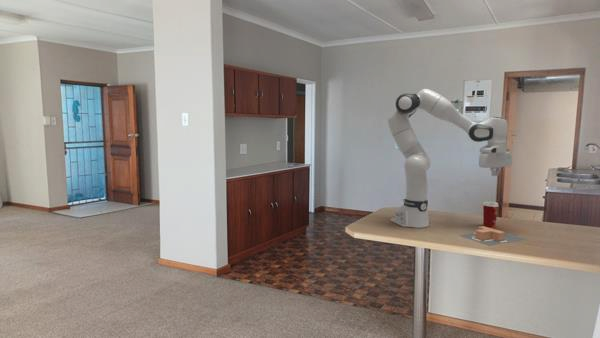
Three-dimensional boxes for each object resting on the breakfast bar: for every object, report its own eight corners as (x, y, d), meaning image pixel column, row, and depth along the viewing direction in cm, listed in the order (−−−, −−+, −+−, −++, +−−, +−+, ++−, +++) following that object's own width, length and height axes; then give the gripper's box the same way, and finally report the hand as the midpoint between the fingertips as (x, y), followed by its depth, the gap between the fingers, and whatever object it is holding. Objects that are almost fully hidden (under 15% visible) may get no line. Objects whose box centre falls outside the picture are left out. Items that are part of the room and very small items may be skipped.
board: (458, 237, 200) (458, 234, 199) (494, 231, 210) (494, 229, 210) (489, 247, 183) (489, 245, 183) (526, 241, 194) (527, 238, 194)
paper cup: (499, 230, 212) (500, 204, 210) (483, 229, 214) (484, 203, 212) (495, 226, 220) (496, 201, 218) (479, 226, 221) (481, 200, 220)
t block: (468, 236, 198) (468, 228, 197) (483, 234, 202) (483, 226, 201) (489, 243, 187) (489, 234, 186) (504, 240, 191) (504, 232, 191)
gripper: (505, 148, 214) (503, 174, 215) (477, 148, 205) (475, 176, 207) (516, 148, 208) (514, 175, 210) (487, 149, 200) (485, 177, 201)
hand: (494, 175), depth 208 cm, fingers closed
